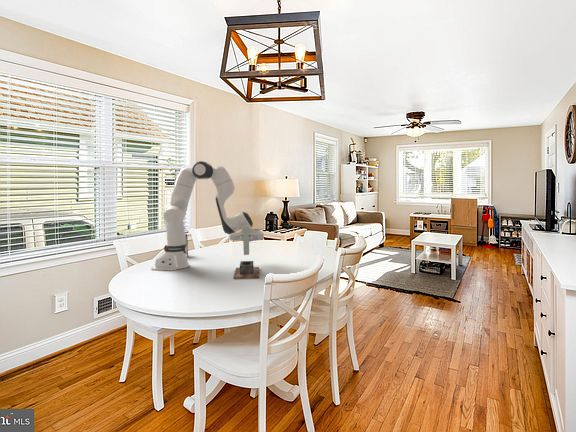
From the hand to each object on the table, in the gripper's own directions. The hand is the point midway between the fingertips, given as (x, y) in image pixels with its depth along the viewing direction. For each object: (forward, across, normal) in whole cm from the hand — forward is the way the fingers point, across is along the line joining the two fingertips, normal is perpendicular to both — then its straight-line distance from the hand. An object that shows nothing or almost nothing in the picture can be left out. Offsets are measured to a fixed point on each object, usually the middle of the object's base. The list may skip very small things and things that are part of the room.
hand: (246, 238), depth 191 cm
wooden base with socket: (-1, 0, +21) cm, 21 cm away
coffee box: (-53, -50, +21) cm, 76 cm away
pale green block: (-1, 0, +9) cm, 9 cm away
